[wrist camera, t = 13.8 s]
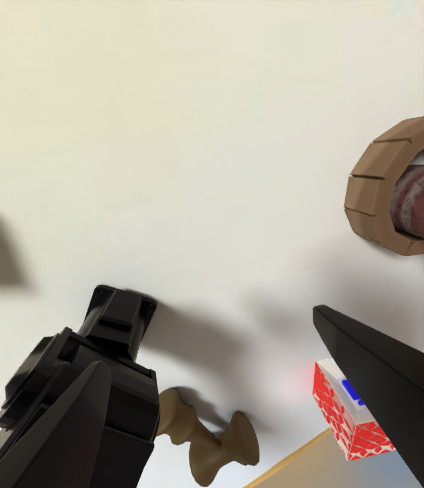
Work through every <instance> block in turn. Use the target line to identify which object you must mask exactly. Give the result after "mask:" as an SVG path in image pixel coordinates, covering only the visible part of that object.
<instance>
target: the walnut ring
mask: <svg viewBox="0 0 424 488" xmlns="http://www.w3.org/2000/svg"><path fill="white" fill-rule="evenodd" d="M423 149H424V116H423V117H417V118H412V119H406V120H404V121H402V122H400V123H399V124H397V125H396V126H394V127H393V128H391V129H390V130H388V131H387V132H385V133H384V134H382V135H381V136H379V137H378V138H376V139H375V140H373V143H372V144H370V145H369V146H368V148H367V149H366V151H365V152H364V154H363V155H362V157H361V158H360V160H359V161H358V163H357V164H356V166H355V168H354V169H353V171H352V172H351V174H352V175H353V176H354V177H349V180H348V186H347V192H346V198H345V204H344V207H347V208H346V209H344V210H345V212H346V215H347V217H348V220H349V222H350V225H351V227H352V230H353V231H354V232H355V233H356V234H358V235H360V236H362V237H364V238H366V239H368V240H370V241H372V242H374V243H376V244H378V245H380V246H383V247H385V248H387V249H389V250H392V251H394V252H396V253H398V254H400V255H404V256H410V255H418V254H424V238H422V237H419V236H416V235H413V234H410V233H407V232H404V231H401V230H398V229H395V228H394V226H393V222H392V219H391V216H390V213H389V208H390V204H391V201H392V197H393V193H394V189H395V185H396V182H397V180H398V179H399V178H400V176H401V175H402V173H403V172H404V171H405V169H406V168H407V167H408V165H409V164H410V163H411V161H412V160H413V159H414V157H415V156H416V154H417V153H418V152H420V151H421V150H423Z"/></svg>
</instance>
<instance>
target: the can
mask: <svg viewBox="0 0 424 488" xmlns="http://www.w3.org/2000/svg"><path fill="white" fill-rule="evenodd" d="M389 213H390V216H391V219H392V222H393V226H394V228H395V229H398V230H401V231H404V232H407V233H410V234H413V235H416V236H419V237H422V238H424V165H410V166H408V167H407V168H406V169H405V171H404V172H403V173H402V175H401V176H400V178H399V179H398V180H397V182H396V185H395V189H394V193H393V197H392V201H391V204H390V208H389Z"/></svg>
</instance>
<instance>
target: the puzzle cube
mask: <svg viewBox="0 0 424 488" xmlns="http://www.w3.org/2000/svg"><path fill="white" fill-rule="evenodd" d="M313 397H314V399H315V400H316V402H317V404H318V406H319V408H320V410H321V412H322V414H323V415H324V417H325V419H326V421H327V423H328V425H329V427H330V429H331V431H332V432H333V434H334V436H335V438H336V440H337V442H338V444H339V446H340V448H341V449H342V451H343V453H344V455H345V457H346V459H347V461H350V460H355V459H359V458H364V457H368V456H372V455H377V454H381V453H385V452H389V451H394V450H396V449H395V447H394V446H393V444H392V443H391V441H390V440H389V439H388V437H387V436H386V434H385V433H384V431H383V430H382V429H381V427H380V426H379V424H378V423H377V421H376V420H375V419H374V417H373V416H372V414H371V413H370V411H369V410H368V409H367V407H366V406H365V404H364V403H363V401H362V400H361V399H360V397H359V396H358V394H357V393H356V391H355V390H354V389H353V387H352V386H351V384H350V383H349V381H348V380H347V379H346V377H345V376H344V374H343V373H342V371H341V370H340V369H339V367H338V366H337V364H336V363H335V361H334V359H333V358H328V359H323V360H318V361H316V363H315V374H314V386H313Z"/></svg>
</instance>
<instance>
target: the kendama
mask: <svg viewBox="0 0 424 488" xmlns="http://www.w3.org/2000/svg"><path fill="white" fill-rule="evenodd" d="M159 402H160V423H159V427H158V431H157V434H156V436H159V435H162V434H168V435H169V436H170V439H171V442H172V444H175V445H180V444H183V443H184V442H186V441H188V442H191V444H190V450H189V462H190V468H191V472H192V475H193V477H194V479H195V481H196V482H197V483H198V484H199V485H200V486H203V487H208V486H209V485H210V484H211V483H212V482H213V480H214V478H215V476H216V474H217V472H218V471H219V469H220V468H221V467H222V466H224V465H226V464H228V463H230V462H232V461H236V462H238V463H240V464H242V465H245V466H246V465H247V464H248V465H253V466H255V465H257V464H258V462H259V454H260V453H259V445H258V441H257V437H256V434H255V431H254V429H253V426H252V424H251V423H250V421H249V420H248V418H247V417H246V416H245V415H244V414H243V413H241V412H239V411H238V412H236V413H234V414H233V416H232V419H231V421H230V424H229V426H228V428H227V430H226V431H225V432H223V433H222V434H220V435H218V436H216V437H215V436H214V435H213V434H212V433H211V432H210V431H209V430H208V429H207V428H206V427H205V426H204V425H203V424H202V423H201V422H200V421H199V419H198V418H197V414H196V409H195V408H194V406H193V405H190V404H186V405H184V404H183V403H182V402H181V401H180V400H179V395H178V393H177V391H176V389H172V388H169V389H167V390H164V391H163V392H162V393H160V394H159Z"/></svg>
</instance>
